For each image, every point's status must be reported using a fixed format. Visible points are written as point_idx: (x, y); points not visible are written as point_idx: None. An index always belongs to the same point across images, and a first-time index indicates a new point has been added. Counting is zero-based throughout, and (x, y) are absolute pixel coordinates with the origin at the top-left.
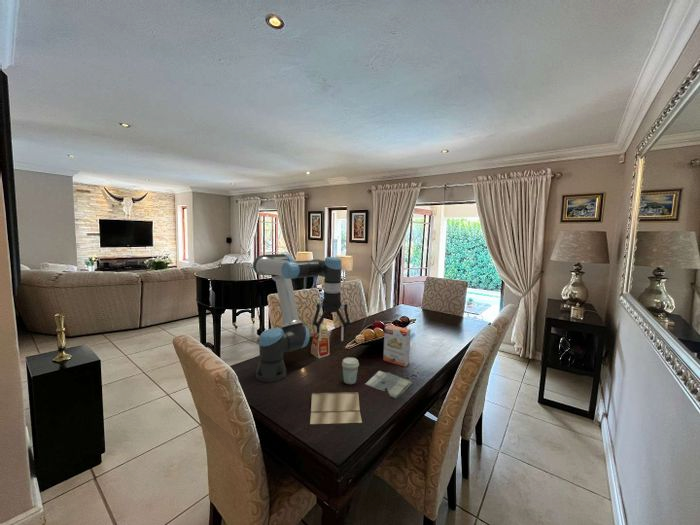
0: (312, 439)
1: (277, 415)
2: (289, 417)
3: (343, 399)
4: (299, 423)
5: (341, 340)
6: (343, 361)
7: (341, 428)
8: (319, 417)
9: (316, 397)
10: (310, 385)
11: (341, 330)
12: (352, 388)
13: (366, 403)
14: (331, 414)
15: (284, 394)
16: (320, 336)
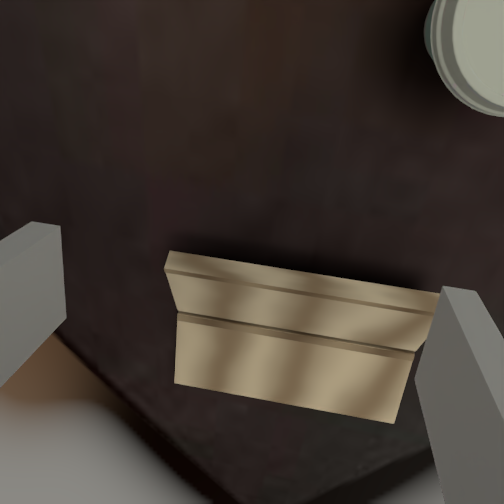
0: (188, 425)
1: None
2: (91, 297)
3: (344, 315)
4: (137, 340)
5: (419, 366)
6: (454, 33)
7: None
8: (214, 355)
9: (194, 284)
10: (179, 9)
11: (489, 430)
12: None
13: (486, 273)
14: (270, 348)
15: (31, 101)
16: (11, 363)
